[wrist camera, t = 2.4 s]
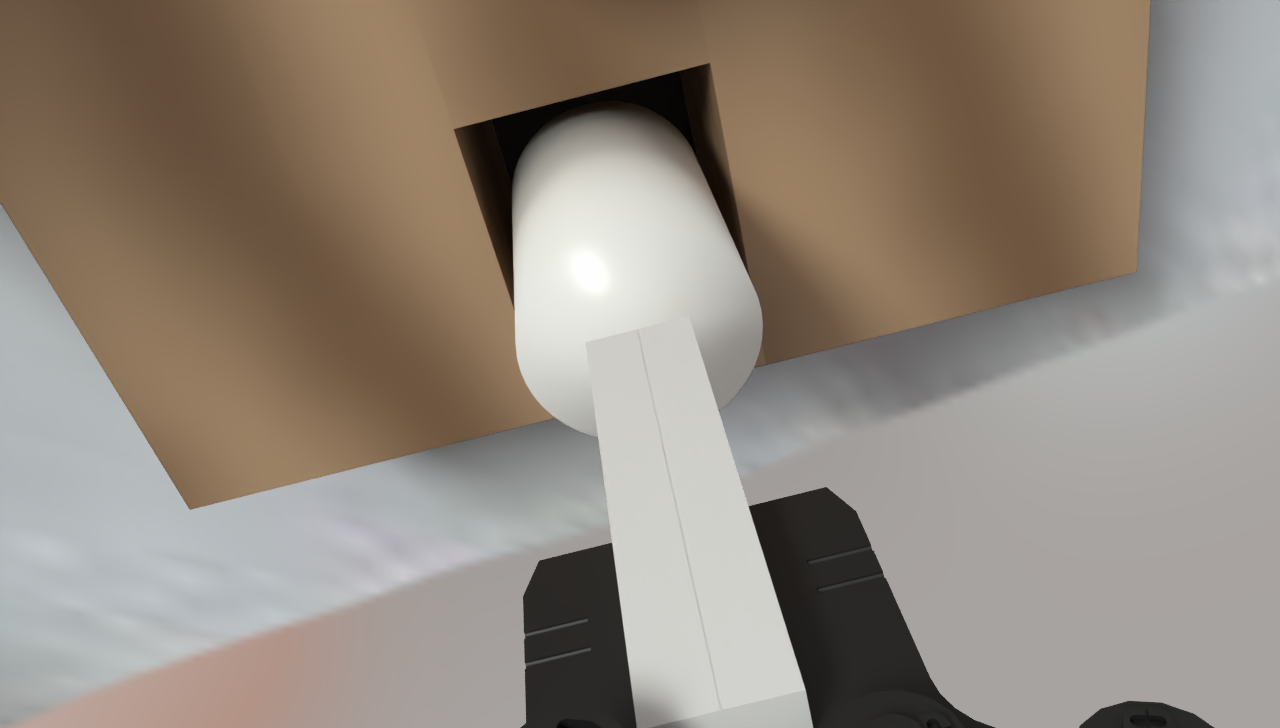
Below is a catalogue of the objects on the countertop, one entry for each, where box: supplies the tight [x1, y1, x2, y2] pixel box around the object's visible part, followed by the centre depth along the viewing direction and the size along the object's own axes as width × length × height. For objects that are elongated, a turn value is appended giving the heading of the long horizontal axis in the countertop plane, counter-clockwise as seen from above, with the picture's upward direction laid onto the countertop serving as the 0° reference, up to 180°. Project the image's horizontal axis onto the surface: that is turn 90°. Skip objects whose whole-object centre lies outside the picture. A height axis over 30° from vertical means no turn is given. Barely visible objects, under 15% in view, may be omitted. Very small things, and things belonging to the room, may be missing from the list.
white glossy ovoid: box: [512, 101, 763, 437], centre depth 19 cm, size 4×4×6 cm
